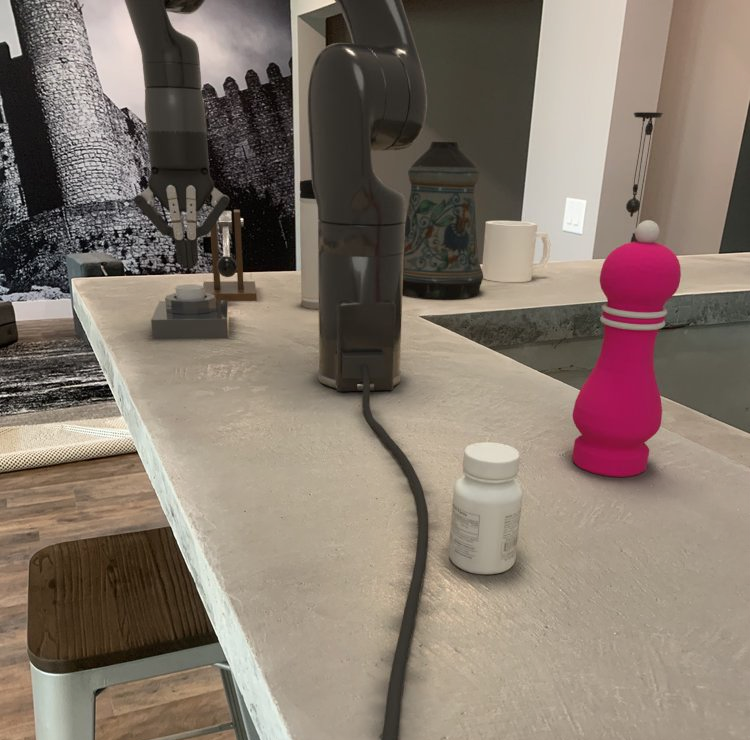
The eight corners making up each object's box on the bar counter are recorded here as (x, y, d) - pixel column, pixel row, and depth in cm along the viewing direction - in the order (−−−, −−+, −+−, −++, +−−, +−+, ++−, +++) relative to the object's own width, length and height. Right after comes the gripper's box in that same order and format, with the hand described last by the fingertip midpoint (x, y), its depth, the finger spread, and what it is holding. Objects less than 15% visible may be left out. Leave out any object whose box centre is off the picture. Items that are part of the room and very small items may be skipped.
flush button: (204, 302, 106) (203, 289, 106) (175, 302, 106) (174, 289, 105) (205, 296, 110) (204, 284, 109) (177, 296, 109) (176, 284, 109)
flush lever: (237, 281, 123) (236, 265, 121) (217, 281, 123) (216, 265, 120) (235, 224, 131) (234, 208, 128) (216, 224, 130) (214, 208, 128)
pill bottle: (507, 544, 53) (519, 439, 49) (521, 576, 49) (534, 465, 46) (444, 543, 53) (452, 438, 49) (452, 576, 49) (461, 464, 45)
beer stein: (431, 303, 130) (439, 141, 120) (365, 285, 145) (367, 140, 134) (500, 294, 139) (514, 143, 129) (432, 279, 154) (439, 141, 143)
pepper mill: (588, 442, 71) (622, 214, 63) (664, 462, 67) (713, 221, 59) (551, 464, 66) (584, 219, 58) (632, 487, 62) (679, 227, 53)
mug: (534, 273, 163) (539, 220, 158) (555, 281, 154) (561, 225, 150) (474, 274, 160) (478, 220, 156) (492, 282, 151) (497, 225, 147)
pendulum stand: (256, 301, 129) (252, 214, 123) (201, 301, 127) (195, 213, 122) (255, 288, 140) (251, 208, 134) (204, 288, 138) (198, 207, 132)
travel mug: (336, 311, 123) (336, 176, 114) (296, 308, 124) (294, 174, 115) (345, 304, 128) (346, 174, 120) (307, 301, 129) (305, 173, 121)
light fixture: (600, 267, 173) (622, 112, 160) (634, 267, 175) (659, 113, 161) (620, 274, 164) (646, 111, 151) (656, 274, 166) (685, 112, 153)
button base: (228, 338, 105) (226, 305, 103) (153, 339, 103) (149, 306, 101) (228, 318, 116) (227, 288, 114) (161, 319, 115) (158, 288, 113)
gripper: (119, 127, 94) (136, 272, 101) (228, 129, 96) (236, 271, 103) (127, 128, 101) (142, 264, 108) (228, 130, 103) (236, 263, 110)
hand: (188, 267), depth 106 cm, fingers closed
